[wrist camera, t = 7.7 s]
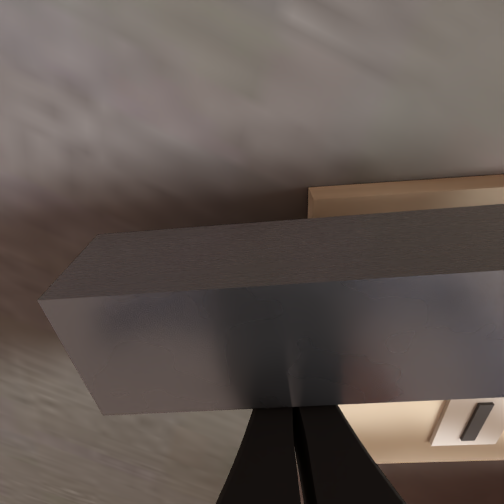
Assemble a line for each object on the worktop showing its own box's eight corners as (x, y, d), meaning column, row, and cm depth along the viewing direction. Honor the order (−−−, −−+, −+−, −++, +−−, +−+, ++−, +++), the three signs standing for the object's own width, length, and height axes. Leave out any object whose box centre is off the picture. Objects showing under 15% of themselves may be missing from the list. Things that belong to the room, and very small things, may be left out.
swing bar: (730, 186, 7) (1154, 296, 4) (642, 306, 9) (872, 450, 5) (97, 234, 8) (-18, 360, 4) (137, 335, 9) (76, 478, 6)
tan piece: (525, 438, 17) (617, 566, 13) (302, 445, 17) (318, 571, 13) (721, 159, 9) (1138, 244, 5) (308, 187, 10) (352, 287, 5)
